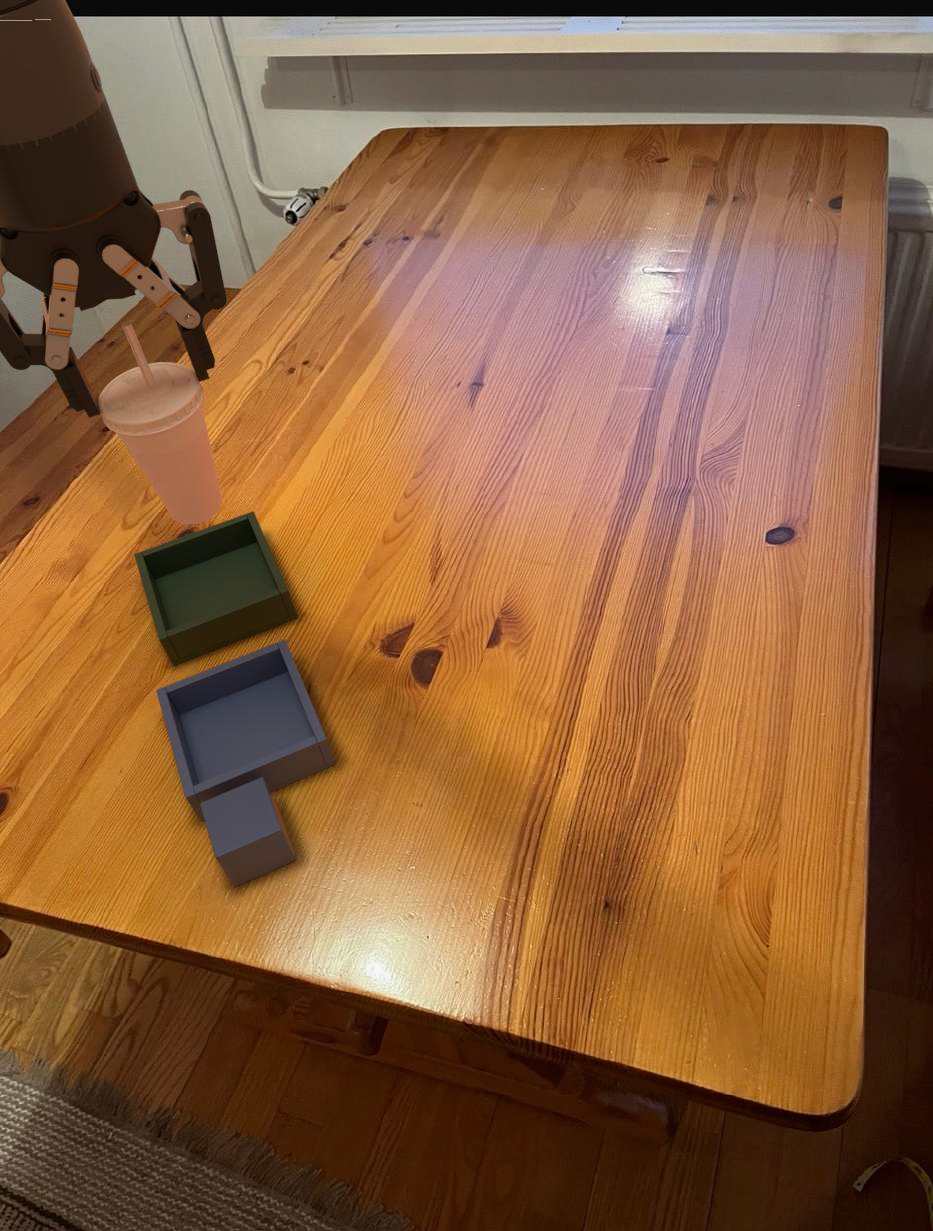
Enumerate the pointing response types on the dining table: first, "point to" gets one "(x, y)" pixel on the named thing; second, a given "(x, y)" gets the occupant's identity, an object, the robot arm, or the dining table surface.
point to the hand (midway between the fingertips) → (147, 391)
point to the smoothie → (165, 433)
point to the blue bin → (243, 726)
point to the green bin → (213, 588)
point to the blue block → (247, 832)
